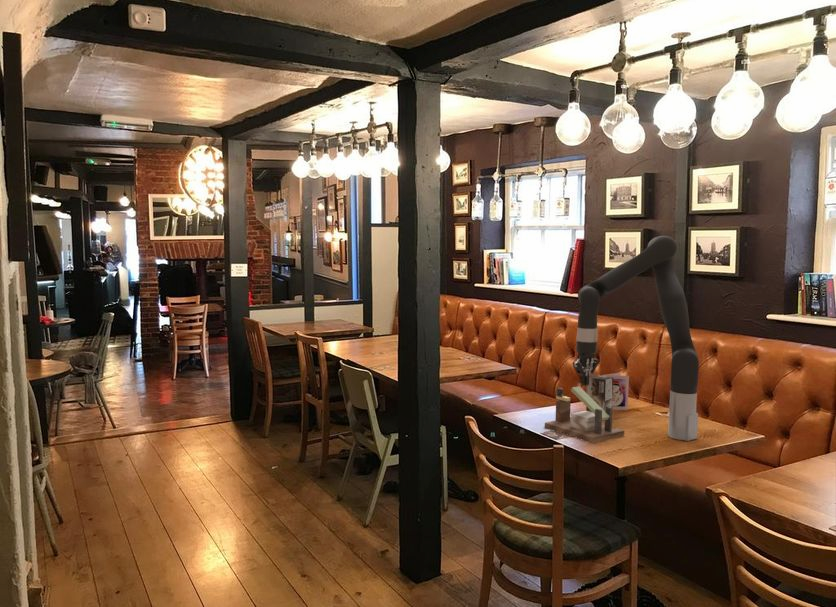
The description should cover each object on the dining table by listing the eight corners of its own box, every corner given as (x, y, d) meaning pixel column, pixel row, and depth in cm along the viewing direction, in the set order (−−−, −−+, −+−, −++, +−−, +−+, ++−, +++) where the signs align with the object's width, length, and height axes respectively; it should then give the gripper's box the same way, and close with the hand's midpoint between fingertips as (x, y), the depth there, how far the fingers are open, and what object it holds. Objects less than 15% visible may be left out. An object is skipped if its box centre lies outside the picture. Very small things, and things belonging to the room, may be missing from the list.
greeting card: (601, 409, 285) (602, 375, 284) (597, 405, 293) (598, 372, 291) (628, 410, 285) (629, 376, 283) (623, 406, 292) (625, 372, 291)
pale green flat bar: (608, 419, 245) (609, 416, 244) (600, 420, 243) (602, 417, 242) (577, 389, 256) (579, 386, 256) (570, 390, 254) (572, 387, 253)
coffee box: (612, 415, 276) (614, 377, 275) (604, 418, 272) (606, 379, 270) (593, 411, 283) (594, 374, 281) (585, 413, 279) (586, 376, 277)
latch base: (624, 435, 248) (625, 406, 247) (594, 443, 238) (595, 413, 237) (574, 421, 267) (575, 394, 266) (544, 427, 257) (545, 399, 256)
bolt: (570, 400, 259) (570, 390, 258) (566, 401, 257) (566, 390, 257) (559, 397, 263) (559, 387, 263) (555, 398, 262) (555, 388, 261)
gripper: (582, 342, 242) (581, 389, 244) (606, 339, 250) (604, 385, 251) (567, 339, 248) (565, 385, 250) (590, 337, 256) (588, 381, 258)
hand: (585, 385), depth 251 cm, fingers closed
